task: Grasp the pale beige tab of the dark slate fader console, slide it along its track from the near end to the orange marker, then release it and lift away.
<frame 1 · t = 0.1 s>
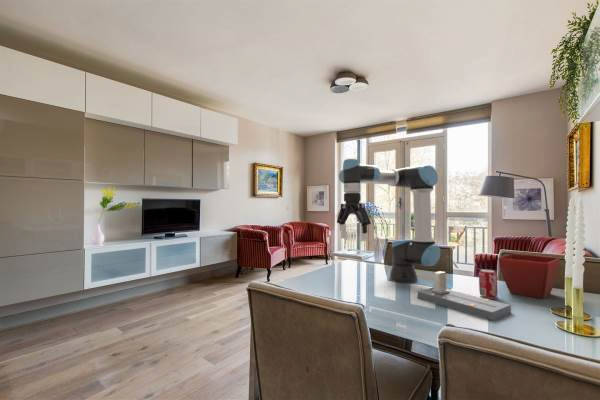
hand: (353, 239, 131), 28 cm above the table, fingers open, 13 cm apart
soda can: (488, 297, 133), on the table
fader console: (460, 304, 123), on the table
plant pot: (529, 293, 137), on the table
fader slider: (440, 282, 131), point 8 cm above the table, slide at -9.0 cm
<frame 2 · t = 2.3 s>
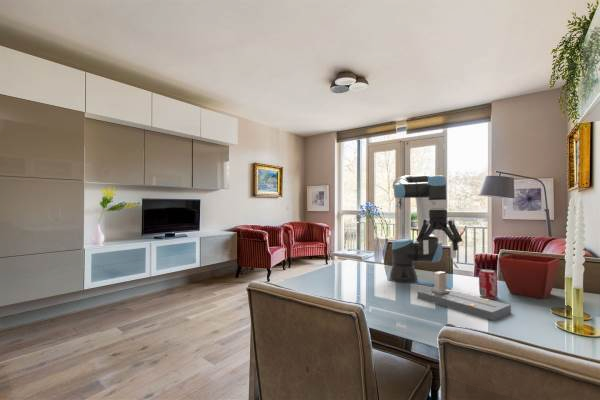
hand: (439, 255, 131), 20 cm above the table, fingers open, 13 cm apart
nothing on the table moved.
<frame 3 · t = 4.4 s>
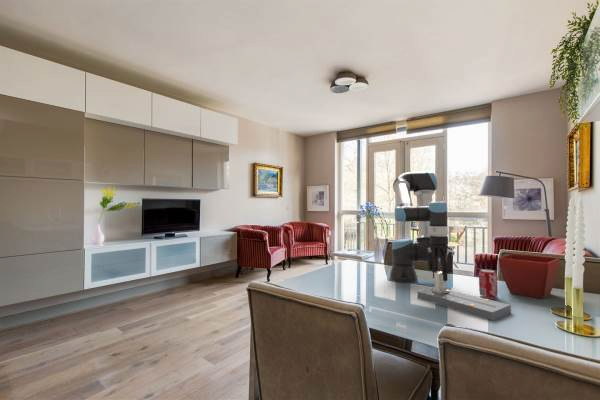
hand: (440, 286, 131), 6 cm above the table, fingers closed on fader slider, 2 cm apart
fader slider: (440, 282, 131), point 8 cm above the table, slide at -9.0 cm, touching gripper
everything else where it was.
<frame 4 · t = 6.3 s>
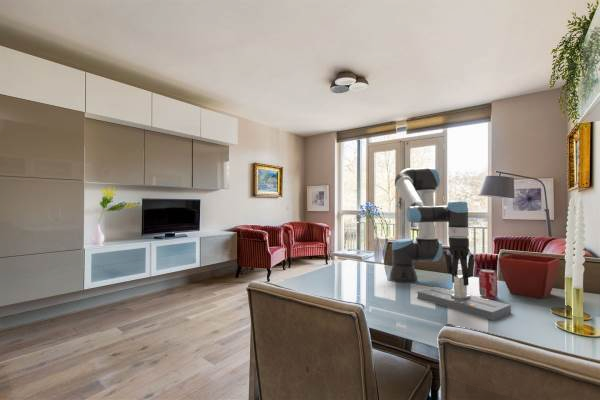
hand: (460, 291, 123), 6 cm above the table, fingers closed on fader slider, 2 cm apart
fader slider: (460, 286, 123), point 8 cm above the table, slide at 0.3 cm, touching gripper
everything else where it was.
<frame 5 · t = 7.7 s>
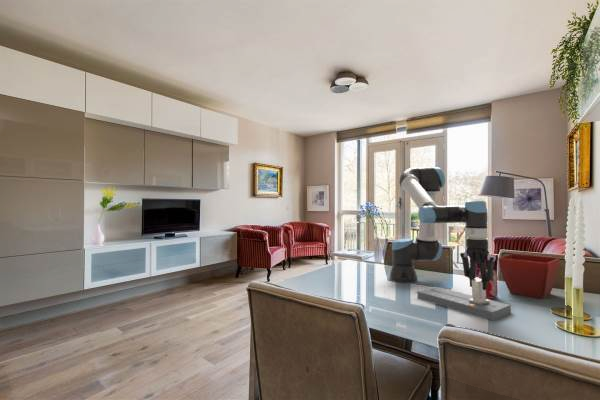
hand: (478, 296, 116), 6 cm above the table, fingers closed on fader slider, 2 cm apart
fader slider: (478, 291, 116), point 8 cm above the table, slide at 7.8 cm, touching gripper
everything else where it was.
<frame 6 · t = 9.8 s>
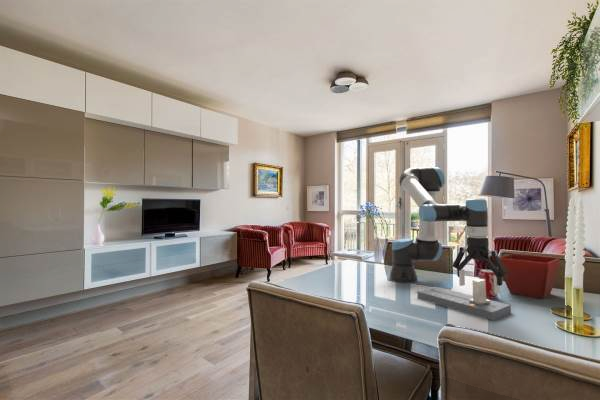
hand: (478, 289, 116), 8 cm above the table, fingers open, 13 cm apart
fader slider: (479, 291, 116), point 8 cm above the table, slide at 8.0 cm
everything else where it was.
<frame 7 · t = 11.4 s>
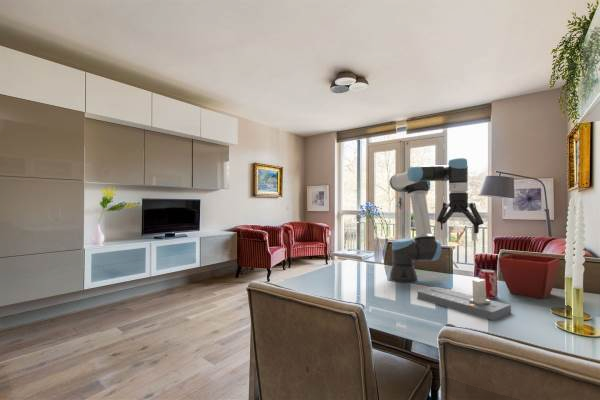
hand: (459, 238, 131), 27 cm above the table, fingers open, 13 cm apart
nothing on the table moved.
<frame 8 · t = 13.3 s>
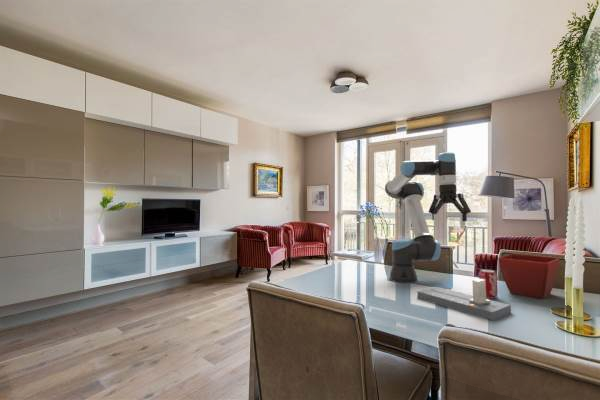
hand: (449, 227, 141), 32 cm above the table, fingers open, 13 cm apart
nothing on the table moved.
at the end: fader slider slide at 8.0 cm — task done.
